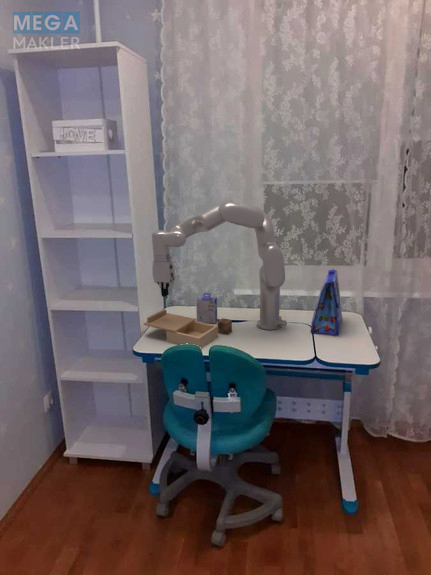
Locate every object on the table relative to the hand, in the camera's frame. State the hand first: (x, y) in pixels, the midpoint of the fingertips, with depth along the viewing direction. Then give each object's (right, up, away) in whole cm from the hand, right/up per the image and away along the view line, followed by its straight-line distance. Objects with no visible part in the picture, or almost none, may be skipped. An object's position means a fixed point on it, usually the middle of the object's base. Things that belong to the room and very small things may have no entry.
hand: (165, 295), depth 218 cm
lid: (+2, -13, +3) cm, 13 cm away
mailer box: (+13, -20, -2) cm, 24 cm away
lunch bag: (+78, -15, +9) cm, 80 cm away
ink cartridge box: (+19, -14, +19) cm, 30 cm away
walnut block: (+28, -18, +5) cm, 33 cm away
